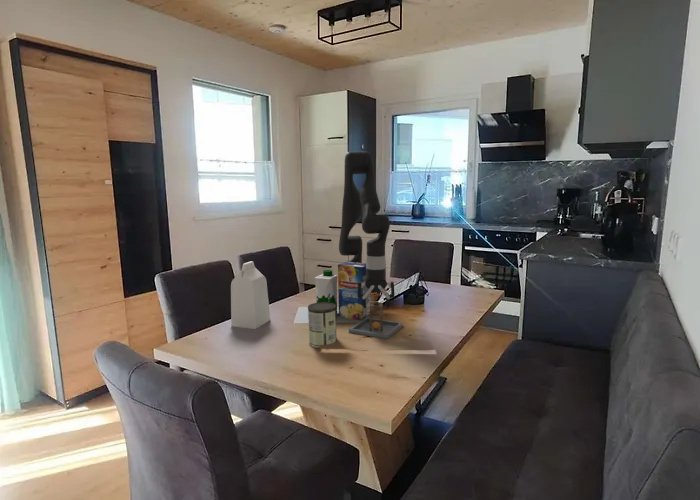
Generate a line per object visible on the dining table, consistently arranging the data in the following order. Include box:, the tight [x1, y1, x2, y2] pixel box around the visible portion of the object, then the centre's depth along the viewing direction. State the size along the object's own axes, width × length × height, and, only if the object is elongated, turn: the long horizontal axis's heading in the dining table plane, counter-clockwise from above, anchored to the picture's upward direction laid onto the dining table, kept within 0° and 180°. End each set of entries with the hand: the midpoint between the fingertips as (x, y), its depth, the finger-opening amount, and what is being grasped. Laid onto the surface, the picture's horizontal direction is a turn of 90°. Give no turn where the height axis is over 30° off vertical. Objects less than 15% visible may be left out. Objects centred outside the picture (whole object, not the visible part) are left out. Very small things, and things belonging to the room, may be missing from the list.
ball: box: [372, 322, 380, 329], centre depth 166 cm, size 3×3×3 cm
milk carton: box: [314, 269, 338, 314], centre depth 185 cm, size 9×9×20 cm
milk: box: [230, 260, 271, 330], centre depth 177 cm, size 12×12×26 cm
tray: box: [348, 317, 404, 340], centre depth 166 cm, size 16×16×2 cm
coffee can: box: [307, 302, 337, 349], centre depth 154 cm, size 10×10×14 cm
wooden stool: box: [369, 300, 384, 331], centre depth 165 cm, size 5×5×11 cm
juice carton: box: [337, 261, 372, 321], centre depth 181 cm, size 12×8×24 cm, turn 60°
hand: (376, 307), depth 164 cm, fingers open, 8 cm apart
